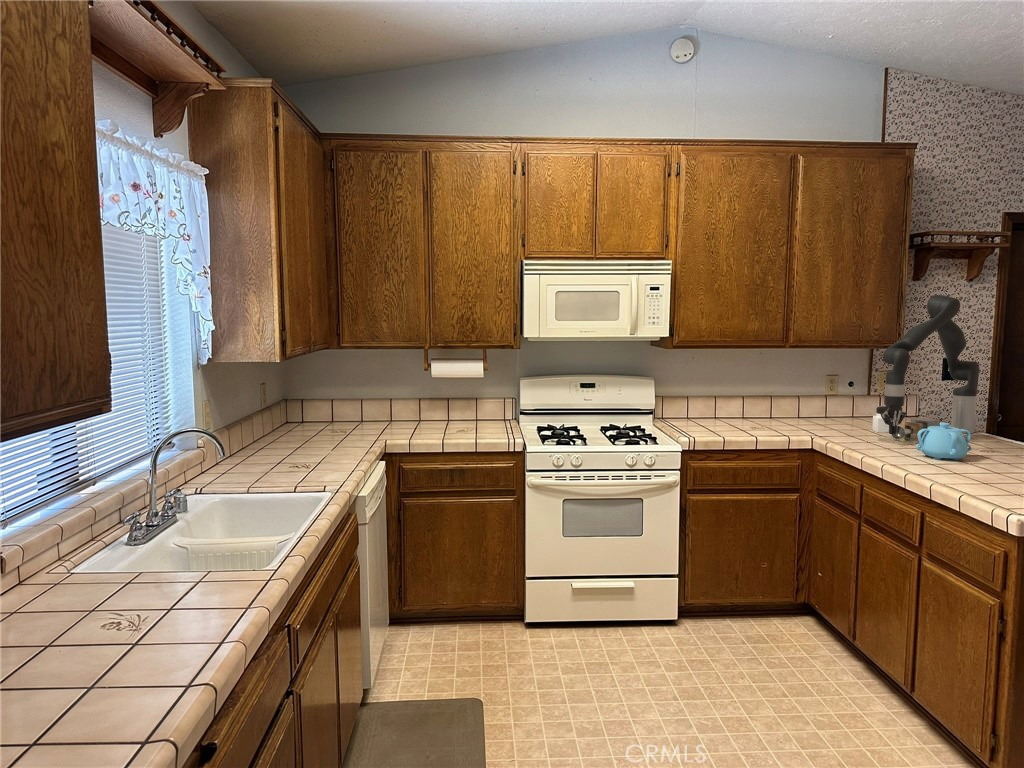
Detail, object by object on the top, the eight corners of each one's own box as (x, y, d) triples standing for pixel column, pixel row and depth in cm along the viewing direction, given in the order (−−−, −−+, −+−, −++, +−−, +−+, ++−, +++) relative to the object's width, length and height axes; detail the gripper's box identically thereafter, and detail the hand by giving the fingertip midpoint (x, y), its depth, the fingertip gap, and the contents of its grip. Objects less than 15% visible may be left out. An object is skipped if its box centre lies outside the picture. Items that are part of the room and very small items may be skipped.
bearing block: (919, 436, 304) (920, 416, 303) (945, 440, 293) (946, 420, 292) (878, 440, 294) (879, 420, 294) (902, 445, 283) (903, 425, 282)
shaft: (920, 434, 299) (920, 422, 299) (932, 436, 294) (932, 424, 294) (890, 437, 293) (891, 425, 292) (902, 439, 288) (903, 427, 287)
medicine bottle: (893, 433, 312) (894, 407, 311) (877, 432, 313) (878, 407, 312) (888, 430, 319) (889, 405, 318) (872, 430, 320) (873, 405, 319)
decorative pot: (977, 459, 256) (979, 424, 255) (953, 463, 249) (955, 427, 247) (933, 451, 270) (935, 418, 269) (909, 456, 263) (911, 421, 262)
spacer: (908, 436, 297) (909, 421, 296) (921, 438, 292) (921, 423, 291) (902, 436, 296) (903, 422, 295) (914, 439, 290) (915, 424, 290)
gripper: (891, 396, 281) (889, 436, 283) (913, 394, 286) (911, 434, 288) (875, 394, 288) (873, 434, 290) (897, 392, 293) (895, 431, 295)
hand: (892, 434), depth 289 cm, fingers closed
